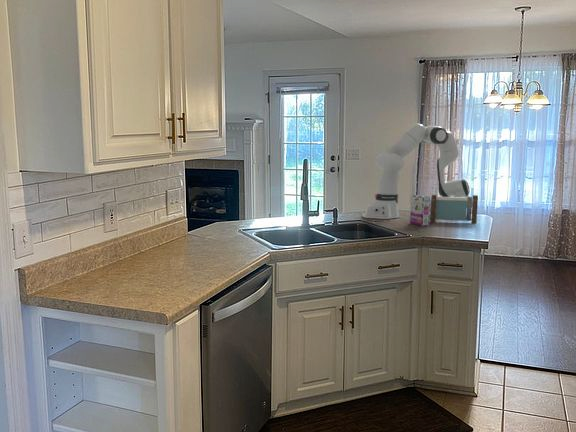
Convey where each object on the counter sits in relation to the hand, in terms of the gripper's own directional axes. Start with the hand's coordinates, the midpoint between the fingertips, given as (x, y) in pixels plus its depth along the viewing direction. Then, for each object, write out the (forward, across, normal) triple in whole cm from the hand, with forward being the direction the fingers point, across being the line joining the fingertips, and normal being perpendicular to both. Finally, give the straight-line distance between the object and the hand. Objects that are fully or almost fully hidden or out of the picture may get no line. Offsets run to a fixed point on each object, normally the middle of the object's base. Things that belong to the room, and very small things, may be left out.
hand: (452, 204), depth 335 cm
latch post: (+21, -5, +9) cm, 24 cm away
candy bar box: (+31, -10, +9) cm, 34 cm away
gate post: (+11, +16, +8) cm, 21 cm away
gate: (+16, +3, +7) cm, 17 cm away
